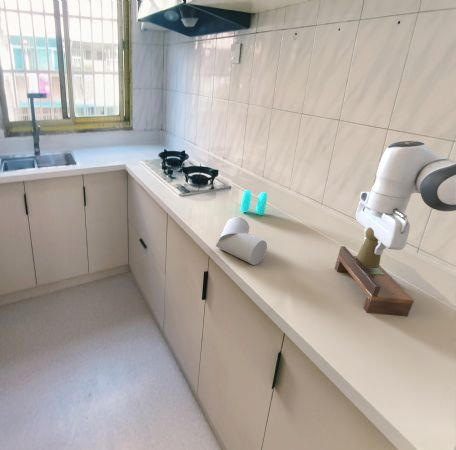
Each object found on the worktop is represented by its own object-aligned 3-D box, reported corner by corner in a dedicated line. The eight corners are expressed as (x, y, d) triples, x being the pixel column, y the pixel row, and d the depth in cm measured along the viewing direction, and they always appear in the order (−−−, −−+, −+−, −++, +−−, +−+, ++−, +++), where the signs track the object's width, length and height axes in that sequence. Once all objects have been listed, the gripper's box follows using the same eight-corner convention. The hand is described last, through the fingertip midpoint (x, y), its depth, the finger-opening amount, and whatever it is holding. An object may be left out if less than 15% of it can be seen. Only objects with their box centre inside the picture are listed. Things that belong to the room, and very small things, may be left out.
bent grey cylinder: (198, 243, 117) (245, 267, 103) (205, 214, 114) (254, 234, 100) (228, 240, 129) (274, 261, 115) (236, 213, 126) (284, 232, 112)
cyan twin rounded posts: (241, 207, 154) (244, 186, 150) (264, 211, 151) (268, 189, 147) (239, 215, 146) (242, 193, 142) (263, 219, 143) (267, 196, 139)
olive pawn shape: (358, 266, 95) (370, 231, 91) (352, 256, 101) (363, 222, 96) (382, 269, 94) (395, 234, 90) (374, 259, 99) (386, 225, 95)
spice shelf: (367, 271, 106) (374, 248, 103) (407, 316, 86) (418, 290, 83) (334, 268, 107) (340, 246, 104) (366, 312, 87) (375, 286, 84)
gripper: (423, 218, 80) (404, 268, 86) (380, 191, 99) (367, 234, 104) (395, 216, 81) (378, 266, 86) (358, 190, 99) (345, 233, 105)
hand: (371, 248), depth 96 cm, fingers closed on olive pawn shape, 4 cm apart
